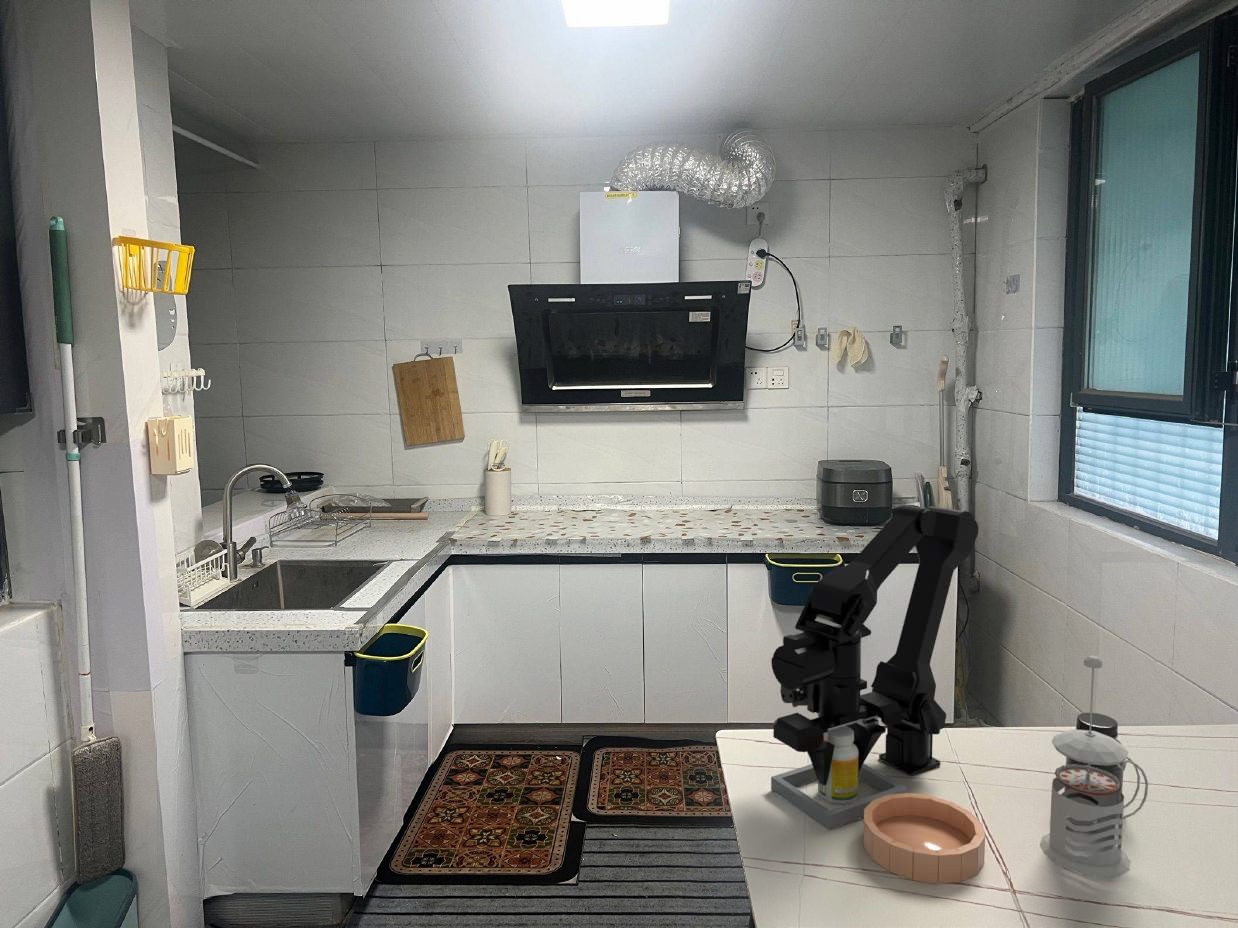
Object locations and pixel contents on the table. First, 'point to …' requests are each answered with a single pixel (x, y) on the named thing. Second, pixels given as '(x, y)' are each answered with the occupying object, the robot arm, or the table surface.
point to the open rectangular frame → (820, 813)
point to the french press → (1089, 802)
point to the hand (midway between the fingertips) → (838, 778)
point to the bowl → (924, 838)
